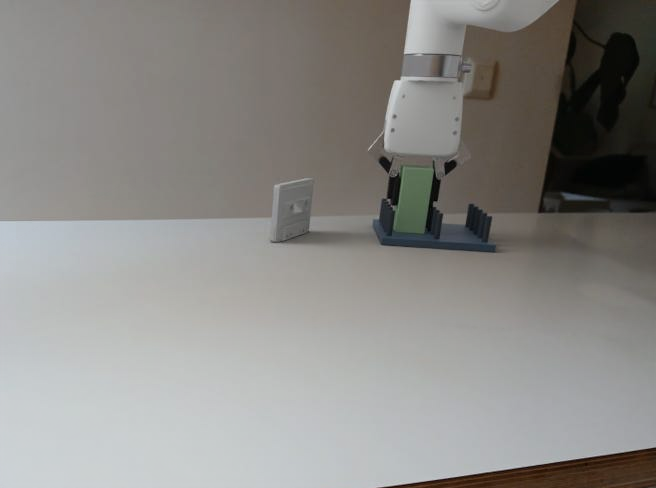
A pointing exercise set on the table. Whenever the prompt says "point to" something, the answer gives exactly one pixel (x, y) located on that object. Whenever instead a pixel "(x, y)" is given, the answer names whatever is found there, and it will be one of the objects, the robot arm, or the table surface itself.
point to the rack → (438, 231)
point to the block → (413, 198)
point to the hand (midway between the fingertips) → (411, 204)
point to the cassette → (291, 209)
